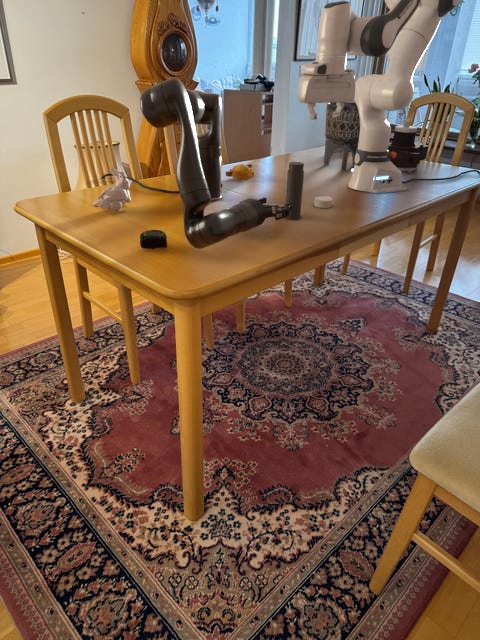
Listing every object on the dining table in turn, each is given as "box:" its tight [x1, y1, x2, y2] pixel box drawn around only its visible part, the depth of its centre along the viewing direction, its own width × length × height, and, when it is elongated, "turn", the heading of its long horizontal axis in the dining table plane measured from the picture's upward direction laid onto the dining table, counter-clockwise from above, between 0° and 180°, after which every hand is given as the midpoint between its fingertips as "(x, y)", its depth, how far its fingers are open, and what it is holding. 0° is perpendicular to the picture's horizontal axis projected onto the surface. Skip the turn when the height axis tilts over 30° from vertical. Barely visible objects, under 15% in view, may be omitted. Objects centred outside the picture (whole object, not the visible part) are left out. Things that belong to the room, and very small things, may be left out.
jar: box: [284, 161, 305, 221], centre depth 139 cm, size 5×5×16 cm
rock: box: [333, 147, 351, 154], centre depth 243 cm, size 13×9×6 cm, turn 131°
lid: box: [313, 195, 333, 209], centre depth 154 cm, size 6×6×2 cm
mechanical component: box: [388, 119, 430, 174], centre depth 205 cm, size 22×21×30 cm
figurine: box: [92, 167, 133, 213], centre depth 142 cm, size 8×15×13 cm, turn 145°
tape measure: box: [139, 229, 168, 250], centre depth 117 cm, size 7×7×4 cm
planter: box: [323, 101, 360, 172], centre depth 204 cm, size 20×20×26 cm
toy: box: [225, 163, 256, 182], centre depth 185 cm, size 11×6×15 cm
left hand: (277, 203), depth 134 cm, fingers open, 8 cm apart
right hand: (324, 118), depth 141 cm, fingers open, 8 cm apart
